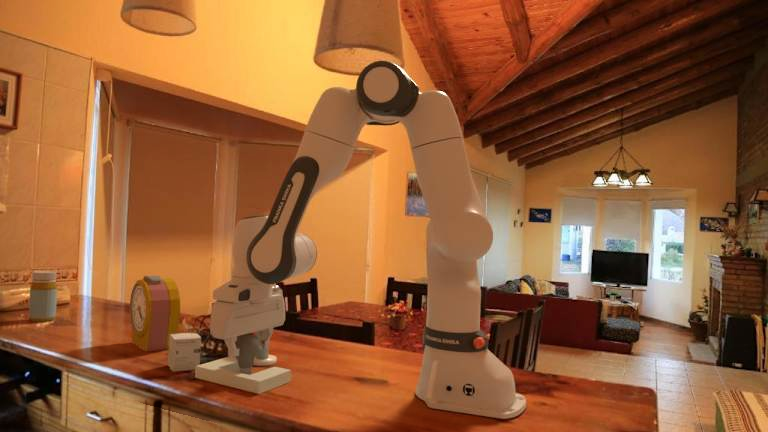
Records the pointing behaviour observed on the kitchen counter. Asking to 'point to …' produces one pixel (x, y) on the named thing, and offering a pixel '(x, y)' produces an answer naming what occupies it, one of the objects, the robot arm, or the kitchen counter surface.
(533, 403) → the kitchen counter surface
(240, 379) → the notched board
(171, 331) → the alarm clock
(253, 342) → the light bulb
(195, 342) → the skincare box
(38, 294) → the bottle
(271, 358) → the bobbin
